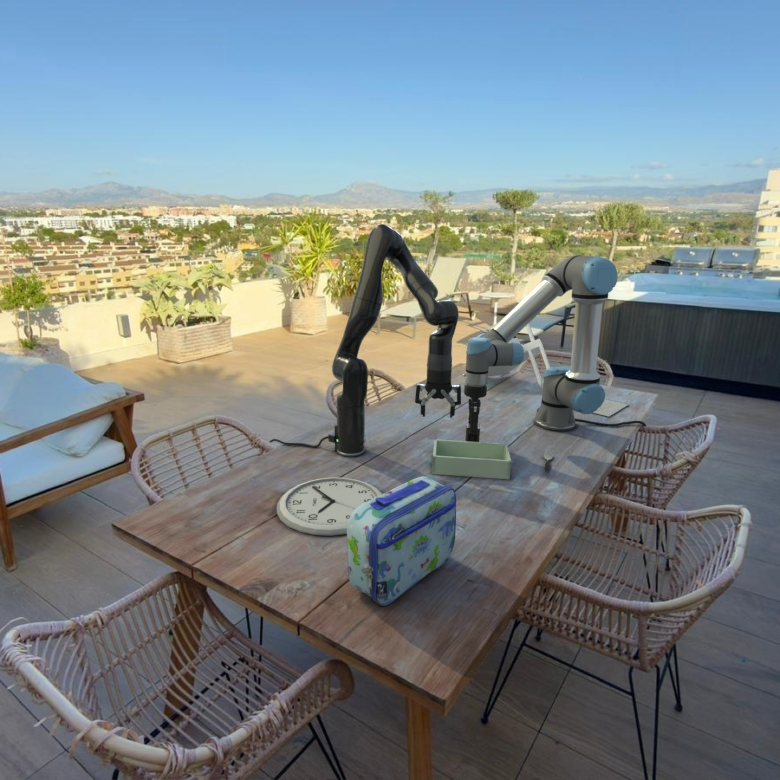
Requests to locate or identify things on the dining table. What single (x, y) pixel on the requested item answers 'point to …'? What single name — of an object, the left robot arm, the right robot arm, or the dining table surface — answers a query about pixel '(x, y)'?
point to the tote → (471, 459)
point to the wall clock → (324, 504)
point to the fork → (547, 459)
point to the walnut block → (469, 431)
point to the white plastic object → (529, 351)
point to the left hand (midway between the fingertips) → (437, 416)
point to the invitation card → (609, 408)
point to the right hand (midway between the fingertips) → (471, 446)
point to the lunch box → (400, 538)
